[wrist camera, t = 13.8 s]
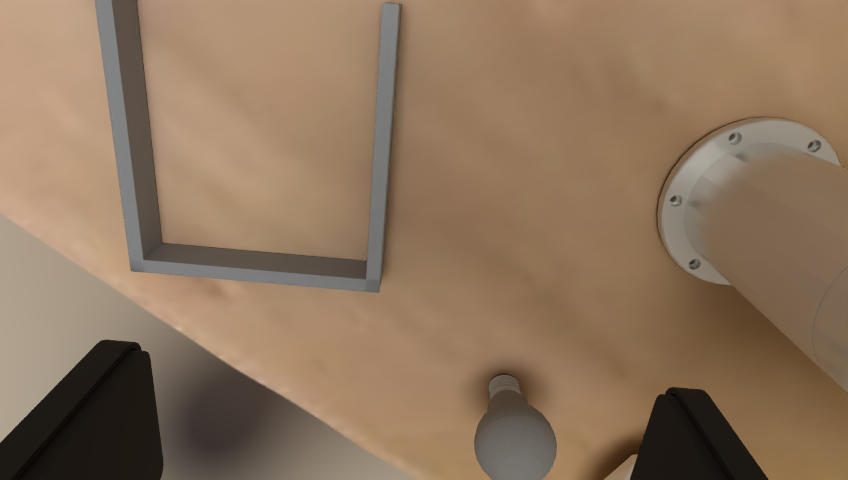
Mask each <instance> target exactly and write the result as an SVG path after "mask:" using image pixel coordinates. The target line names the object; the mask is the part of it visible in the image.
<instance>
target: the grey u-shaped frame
mask: <svg viewBox="0 0 848 480" xmlns="http://www.w3.org/2000/svg"><path fill="white" fill-rule="evenodd" d="M401 5H402V4H395V3H382V16H381V33H380V50H379V67H378V85H377V102H376V119H375V136H374V153H373V171H372V188H371V205H370V222H369V240H368V257H367V261H358V260H347V259H335V258H324V257H313V256H302V255H290V254H279V253H268V252H257V251H245V250H234V249H223V248H212V247H200V246H189V245H178V244H167V243H162V237H161V228H160V218H159V209H158V199H157V190H156V180H155V171H154V162H153V152H152V143H151V133H150V124H149V114H148V105H147V95H146V86H145V77H144V67H143V58H142V48H141V39H140V29H139V20H138V10H137V1H136V0H95V6H96V14H97V21H98V29H99V36H100V44H101V51H102V59H103V66H104V74H105V81H106V89H107V96H108V104H109V111H110V119H111V126H112V134H113V141H114V148H115V156H116V163H117V171H118V178H119V186H120V193H121V201H122V208H123V216H124V223H125V231H126V238H127V246H128V253H129V261H130V268H131V271H135V272H146V273H158V274H169V275H181V276H192V277H204V278H215V279H227V280H238V281H249V282H261V283H272V284H284V285H295V286H307V287H318V288H330V289H341V290H353V291H364V292H375V293H379V291H380V285H381V279H382V273H383V259H384V245H385V231H386V216H387V202H388V188H389V174H390V160H391V146H392V132H393V118H394V104H395V90H396V76H397V62H398V47H399V33H400V19H401Z"/></svg>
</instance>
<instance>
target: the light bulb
mask: <svg viewBox="0 0 848 480" xmlns="http://www.w3.org/2000/svg"><path fill="white" fill-rule="evenodd" d="M489 394H490V402H489V405H488V411H487V412H486V414H485V415H484V416H483V418H482V419H481V420H480V422H479V424H478V426H477V430H476V434H475V441H474V445H475V454H476V457H477V460H478V462H479V464H480V466H481V467H482V469H483V470H484V472H485V473H486V474H487V475H488V476H489V477H490V478H491V479H493V480H542V479H543V478H544V477H545V476H546V475H547V474H548V472H549V471H550V469H551V468H552V466H553V463H554V460H555V457H556V449H557V443H556V438H555V434H554V432H553V430H552V427H551V425H550V423H549V422H548V421H547V419H546V418H545V417H544V416H543V414H542V413H540V412H539V411H538V410H536V409H535V408H533V407H532V406H530V405H528V403H527V401H526V399H525V398H524V397H523V396H522V395H521V391H520V386H519V383H518V381H517V380H516V379H515V378H514V377H512V376H509V375H500V376H497V377H495V378H494V379H492V380H491V382H490V384H489Z"/></svg>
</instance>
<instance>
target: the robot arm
mask: <svg viewBox="0 0 848 480" xmlns="http://www.w3.org/2000/svg"><path fill="white" fill-rule="evenodd" d="M731 134H732V136H731V138H730V139H729V137H730V135H731ZM673 196H674V198H673V199H672V200H670V199H671V198H672V197H673ZM657 219H658V230H659V233H660V237H661V240H662V243H663V245H664V246H665V248H666V250H667V252H668V253H669V255H670V256H671V257H672V258H673V259H674V260H675V262H676V263H677V264H678V265H679V266H680V267H681V268H683V269H684V270H685V271H686V272H687V273H689V274H691V275H693V276H695V277H697V278H699V279H701V280H703V281H707V282H710V283H714V284H720V285H731V286H733V287H734V288H735V289H736V290H737V291H739V292H740V293H741V294H742V295H743V296H744V297H745V298H746V299H747V300H748V301H749V302H750V303H751V304H752V305H753V306H755V307H756V308H757V309H758V310H759V311H760V312H761V313H762V314H763V315H764V316H765V317H766V318H767V319H768V320H769V321H771V322H772V323H773V324H774V325H775V326H776V327H777V328H778V329H779V330H780V331H781V332H782V333H783V334H784V335H785V336H786V337H788V338H789V339H790V340H791V341H792V342H793V343H794V344H795V345H796V346H797V347H798V348H799V349H800V350H801V351H802V352H804V353H805V354H806V355H807V356H808V357H809V358H810V359H811V360H812V361H813V362H814V363H815V364H816V365H817V366H819V367H820V368H821V369H822V370H823V371H824V372H825V373H826V374H827V375H829V376H830V377H831V378H832V379H833V380H834V381H835V382H836V383H837V384H838V385H839V386H841V387H842V388H843V389H844V390H845V391H846V392H847V393H848V169H846V168H844V167H841V164H840V161H839V159H838V157H837V154H836V152H835V150H834V149H833V148H832V146H831V145H830V144H829V143H828V141H827V140H826V139H825V138H824V137H822V136H821V135H820V134H819V133H817V132H816V131H815V130H813V129H811V128H809V127H807V126H804V125H802V124H800V123H797V122H794V121H790V120H787V119H783V118H772V117H760V118H749V119H745V120H742V121H738V122H734V123H731V124H728V125H726V126H724V127H722V128H720V129H718V130H715V131H713V132H712V133H710V134H709V135H707V136H706V137H704V138H703V139H701V140H700V141H698V142H697V143H696V144H695V145H694V146H693V147H692V148H691V149H689V150H688V151H687V152H686V153H685V154H684V155H683V156H682V158H681V159H680V160H679V161H678V163H677V164H676V165H675V167H674V168H673V169H672V171H671V173H670V175H669V177H668V178H667V180H666V182H665V184H664V187H663V190H662V193H661V196H660V199H659V205H658V213H657ZM162 471H163V455H162V447H161V439H160V432H159V423H158V415H157V407H156V400H155V392H154V384H153V376H152V368H151V360H150V355H149V353H148V352H146V351H142V350H141V347H140V345H139V344H138V343H136V342H127V341H115V340H102V341H100V342H99V343H97V344H96V345H95V346H94V347H93V349H91V351H90V352H89V353H88V354H87V355H86V356H85V357H84V358H83V359H82V360H81V361H80V362H79V363H78V364H77V365H76V366H75V367H74V368H73V369H72V370H71V371H70V372H69V373H68V374H67V375H66V376H65V377H64V378H63V379H62V380H61V381H60V382H59V383H58V385H56V386H55V387H54V389H52V390H51V391H50V392H49V393H48V395H47V396H46V397H45V398H44V399H43V400H42V401H41V402H40V403H39V404H38V405H37V406H36V407H35V408H34V409H33V410H32V411H31V412H30V413H29V414H28V415H27V416H26V417H25V418H24V419H23V420H22V421H21V422H20V423H19V424H18V425H17V426H16V427H15V428H14V429H13V430H12V432H10V433H9V435H7V437H6V438H5V439H4V440H3V441H2V442H1V443H0V480H160V479H161V476H162ZM630 480H768V478H767V477H766V475H765V474H764V473H763V471H762V470H761V468H760V467H759V465H758V464H757V463H756V461H755V460H754V458H753V457H752V456H751V454H750V453H749V451H748V450H747V449H746V447H745V446H744V444H743V443H742V442H741V440H740V439H739V437H738V436H737V434H736V433H735V432H734V430H733V429H732V427H731V426H730V425H729V423H728V422H727V420H726V419H725V418H724V416H723V415H722V413H721V412H720V410H719V409H718V408H717V406H716V405H715V403H714V402H713V401H712V399H711V398H710V396H709V395H708V394H707V393H706V392H705V391H703V390H700V389H688V388H676V387H672V388H669V389H668V390H667V391H666V393H665V395H664V394H661V395H659V396H658V397H657V398H656V401H655V404H654V407H653V410H652V413H651V416H650V419H649V422H648V425H647V428H646V431H645V434H644V437H643V440H642V443H641V446H640V449H639V452H638V455H637V459H636V462H635V465H634V468H633V471H632V474H631V477H630Z"/></svg>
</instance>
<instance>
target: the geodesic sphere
mask: <svg viewBox="0 0 848 480" xmlns="http://www.w3.org/2000/svg"><path fill="white" fill-rule="evenodd" d="M637 455H638V454H634V455H631V456H630V457H629V458H628V459H627V460H626V461H625V462H623V463H622V464H621V465H620V466H619V467H618V468H617V469H616V470H614V471H613V472H612V473H611V474H610V475H609V476H608V477H606V478H605V479H604V480H630V477H631V474H632V471H633V468H634V465H635V462H636V459H637Z"/></svg>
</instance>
